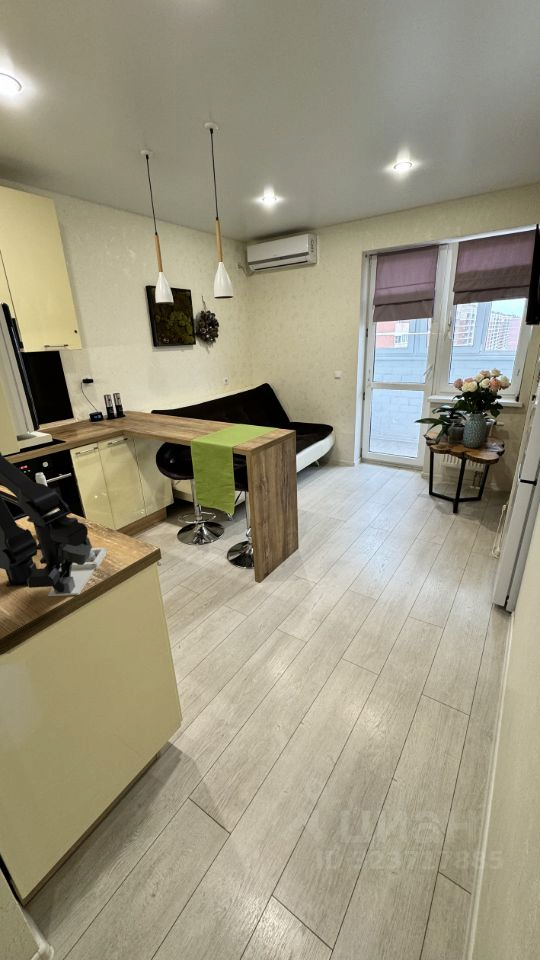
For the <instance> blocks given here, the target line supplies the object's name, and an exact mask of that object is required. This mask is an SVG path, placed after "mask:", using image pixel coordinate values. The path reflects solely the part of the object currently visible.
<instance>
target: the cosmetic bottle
mask: <svg viewBox="0 0 540 960" xmlns="http://www.w3.org/2000/svg"><path fill="white" fill-rule="evenodd" d="M35 480H36V482H35V483H40V484H44V485H46V486H48V484H47V480H46V476H45V475H44V473H43V472H37V473H35ZM57 511H58V509H56V510H54V511H52V512H50V513H48V514H53V513H55V512H57Z"/></svg>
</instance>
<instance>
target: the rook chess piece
mask: <svg viewBox="0 0 540 960" xmlns="http://www.w3.org/2000/svg"><path fill="white" fill-rule="evenodd" d="M87 538H89V540H90V539H91V538H90V537H89V536H88V535H87ZM90 541H91V540H90ZM96 557H97V555H95V553H94V552H93V551H92V550H90V554H89V558H88V559H87V560H86V562H94V560H95V559H96Z"/></svg>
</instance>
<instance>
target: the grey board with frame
mask: <svg viewBox="0 0 540 960" xmlns="http://www.w3.org/2000/svg"><path fill="white" fill-rule="evenodd" d="M91 550H92V551H93V552H94V553H95V555H96V558H95V560H94V561H92V562H85V563H84V564H83V565H78V564H77V563H72V568H71V577H62V578H63V585H64V592H58V591H57V590H56V589H55V588H53V587H52V588H51V590H50V591H49V592H48V593H47V596H48V597H57V596H59V597H61V596H63V597H64V596H77V595H80V593H81V592H82V591H83V588H84V587H85V586H86V584H87V582H88V581H89V580H90V578H91V577H92V575H93V574H94V572H95V571H96V570H98V567H99V566H100V565H101V563H102V562H103V560H104V559H105V557H106V555H107V554H108V550H107V547H92V549H91Z"/></svg>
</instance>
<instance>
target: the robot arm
mask: <svg viewBox="0 0 540 960" xmlns="http://www.w3.org/2000/svg"><path fill="white" fill-rule="evenodd" d="M0 484H1V485H2V486H4V487H5V488H6V489H7V490H8V491H10V492H11V494H13V495H14V496H15V497H16V498H17V501H18V502H17V503H18V504H17V505H18V506H19V508H20V509H21V510H22V511H23V513H24V514H25V515H26V516H27V517H28V518H27V519H26V520H27V522H28V523H33V526H34V530H35V535H36V537H37V540H36V538H34V536H33V534H32V531H31V530H30V529H28V528H26V529H25V528H22V527H21V526H19V525H18V524H17V522H16V520H15V518H14V517H13V515H12V513H11V512H10V509H9V507H8V506H7V503H6V502H5V500H4V498H3V497H2V495H1V494H0V569H2V570H3V571H5V573H6V576H7V579H8V580H7V582H6V584H5V587H24V586H27V587H28V588H30V589H34V588H51V587H52V588H55V589H56V590H57V591H58V592H64V585H63V578H62V577H71V568H72V563H77V564H78V565H83V564H84V563H85V562H86V560H87V559H88V558H89V554H90V550H91V549H92V548H93V546H92V543H91V540H89V538H90V537H89V538H87V536H88V535H89V534H88V533H89V531H88V527H87V526H86V525H85V523H82V522H79V519H78V518H77V517H76V518H75V517H68V515H70V514H72V511H71V510H70V508H69V505H68V504H67V503H66V502H65V501H64V500H63V499H62V498H61V496H60V495H59V494H58V493H57V491H55V490H54V489H53V488H51V487H49V486H48V485H47V486H46V485H44V484H40V483H37V482H34V481H33V480H31V478H30V477H28V476H27V475H26V474H24V472H22V471H21V470H20V469H18V468H17V467H16V466H15V465H14V464H13V463H11V462H10V461H9V460H8V459H6V458H5V457H4V456H3V454H2V452H1V451H0ZM54 510H57V512H55V513H53V514H48V513H50V512H52V511H54ZM37 541H38V542H37ZM38 551H41V554H42V558H41V559H40V560H39V563H40V565H42V564H43V565H44V564H46V565H45V566H44V567H43V568H42V567H41V568H37V564H36V562H35V561H34V557H35V556H38Z"/></svg>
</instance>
